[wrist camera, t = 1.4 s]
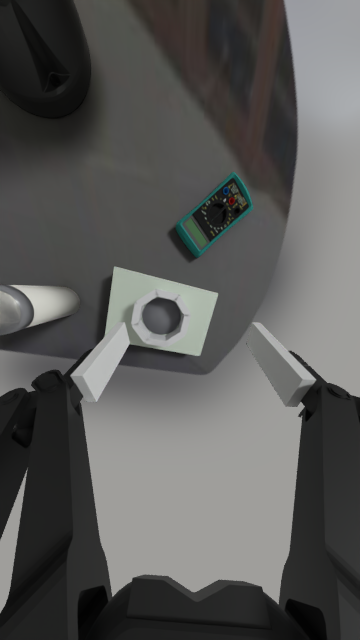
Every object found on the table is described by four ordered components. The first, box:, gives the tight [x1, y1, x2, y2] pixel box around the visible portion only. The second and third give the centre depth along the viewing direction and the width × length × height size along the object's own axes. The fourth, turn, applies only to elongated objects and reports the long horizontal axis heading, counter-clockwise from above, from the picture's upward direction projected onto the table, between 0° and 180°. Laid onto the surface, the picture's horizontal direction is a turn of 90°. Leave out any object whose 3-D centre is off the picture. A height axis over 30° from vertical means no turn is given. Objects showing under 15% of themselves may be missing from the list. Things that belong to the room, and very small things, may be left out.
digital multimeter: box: [176, 172, 253, 258], centre depth 26 cm, size 7×15×3 cm, turn 130°
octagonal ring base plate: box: [105, 266, 218, 356], centre depth 27 cm, size 14×20×7 cm
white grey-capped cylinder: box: [0, 284, 80, 335], centre depth 22 cm, size 6×6×12 cm
